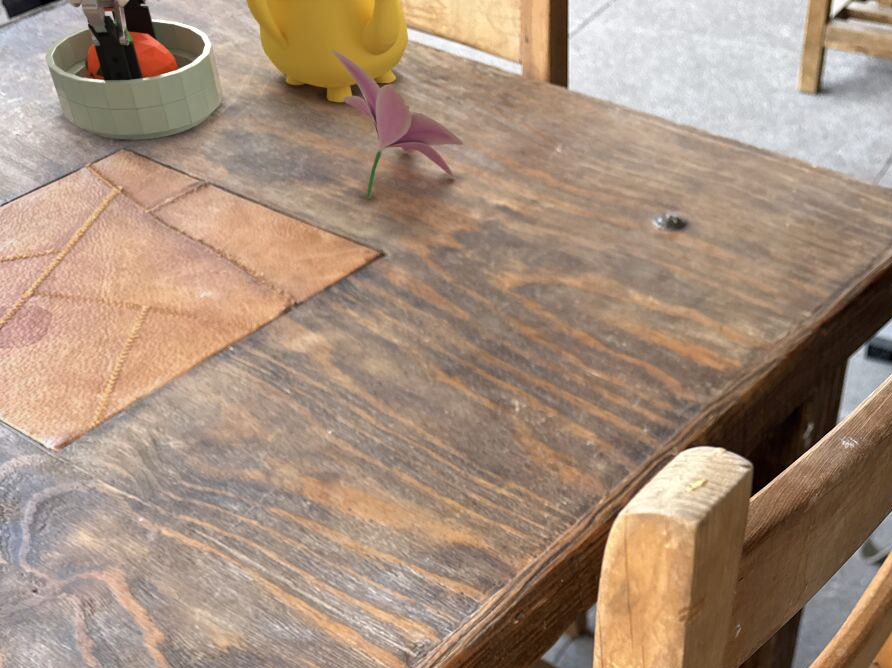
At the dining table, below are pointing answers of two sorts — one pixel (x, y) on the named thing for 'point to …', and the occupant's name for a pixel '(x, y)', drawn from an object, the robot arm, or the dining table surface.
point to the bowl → (138, 87)
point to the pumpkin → (148, 52)
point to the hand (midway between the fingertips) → (135, 73)
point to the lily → (396, 120)
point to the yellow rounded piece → (331, 39)
